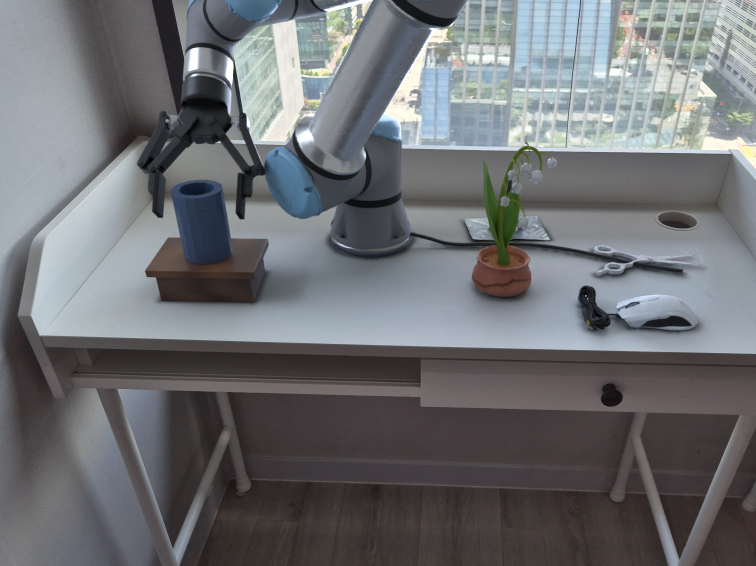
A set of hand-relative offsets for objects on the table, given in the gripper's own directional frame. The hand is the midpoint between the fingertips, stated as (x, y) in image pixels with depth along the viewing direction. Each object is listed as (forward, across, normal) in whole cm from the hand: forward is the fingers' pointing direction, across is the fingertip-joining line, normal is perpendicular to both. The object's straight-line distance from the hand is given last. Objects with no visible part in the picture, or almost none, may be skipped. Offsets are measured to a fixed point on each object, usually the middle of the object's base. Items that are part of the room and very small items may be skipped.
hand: (198, 215), depth 107 cm
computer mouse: (+14, -69, -4) cm, 70 cm away
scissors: (+1, -75, -18) cm, 77 cm away
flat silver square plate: (-9, -51, -27) cm, 59 cm away
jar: (+4, 0, -6) cm, 7 cm away
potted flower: (+8, -49, -11) cm, 51 cm away
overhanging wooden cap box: (+8, 0, -10) cm, 13 cm away
